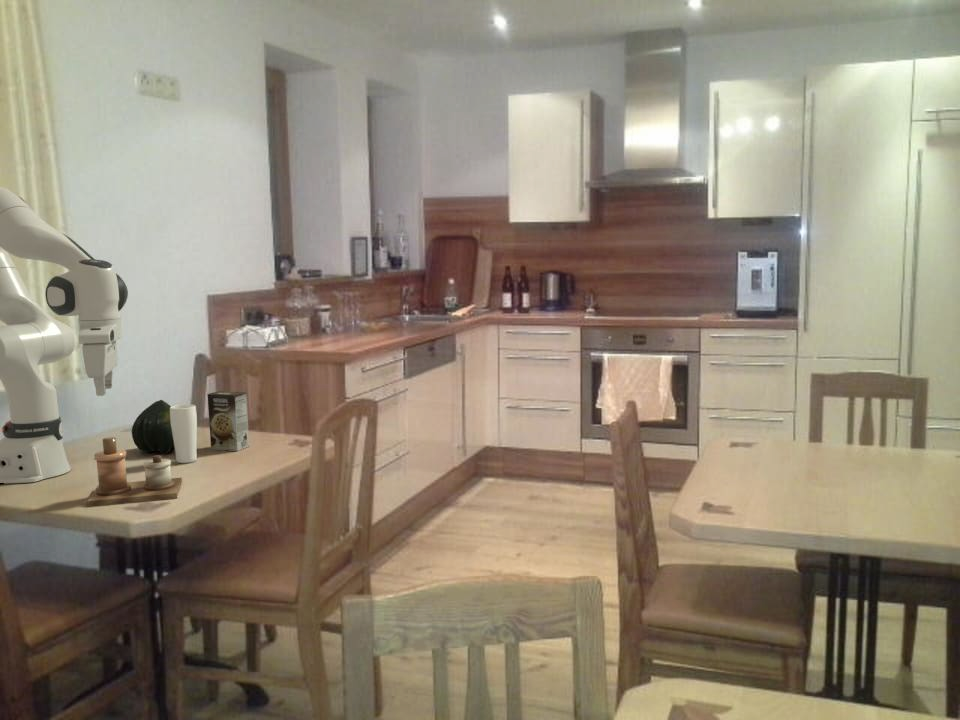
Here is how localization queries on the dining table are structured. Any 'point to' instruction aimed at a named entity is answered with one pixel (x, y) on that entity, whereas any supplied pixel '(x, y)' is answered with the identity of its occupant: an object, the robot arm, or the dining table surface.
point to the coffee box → (228, 420)
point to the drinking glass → (184, 432)
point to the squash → (154, 429)
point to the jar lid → (109, 451)
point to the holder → (134, 483)
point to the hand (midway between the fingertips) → (104, 391)
